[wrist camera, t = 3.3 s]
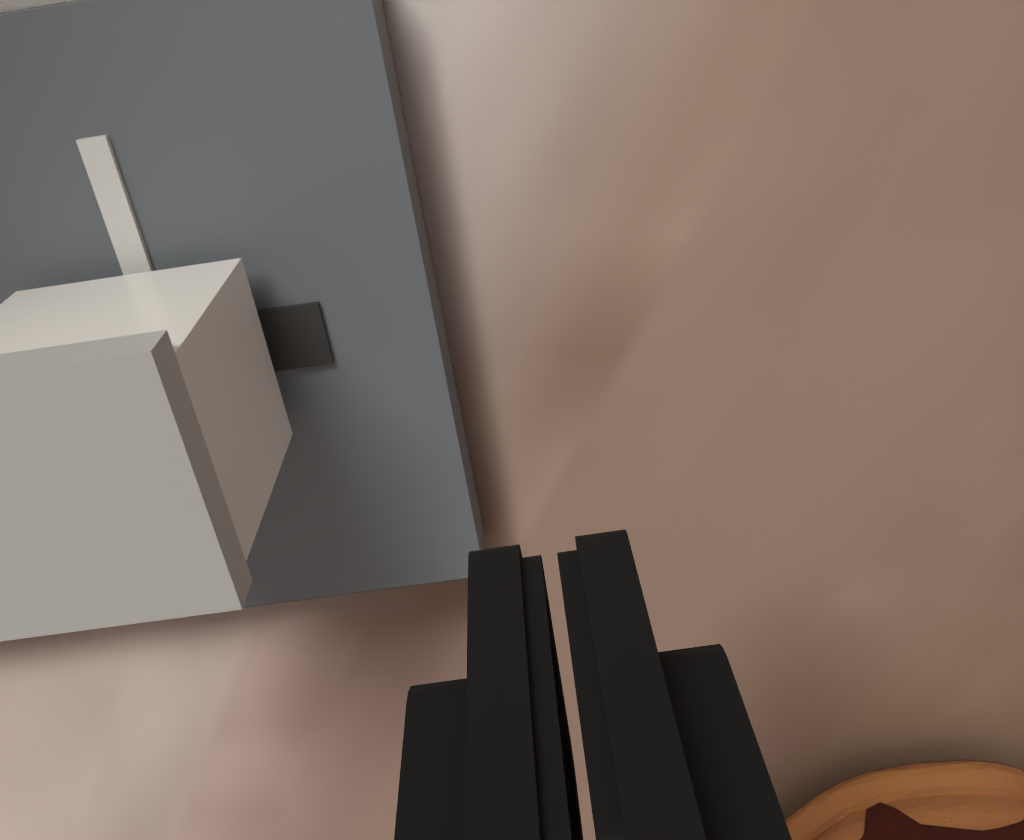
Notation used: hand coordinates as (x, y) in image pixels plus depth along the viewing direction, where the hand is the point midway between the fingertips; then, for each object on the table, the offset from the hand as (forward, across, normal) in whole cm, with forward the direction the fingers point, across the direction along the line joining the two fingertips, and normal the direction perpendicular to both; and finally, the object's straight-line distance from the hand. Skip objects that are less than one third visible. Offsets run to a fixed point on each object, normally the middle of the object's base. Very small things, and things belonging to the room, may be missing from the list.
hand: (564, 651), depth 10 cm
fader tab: (+8, +7, -1) cm, 10 cm away
